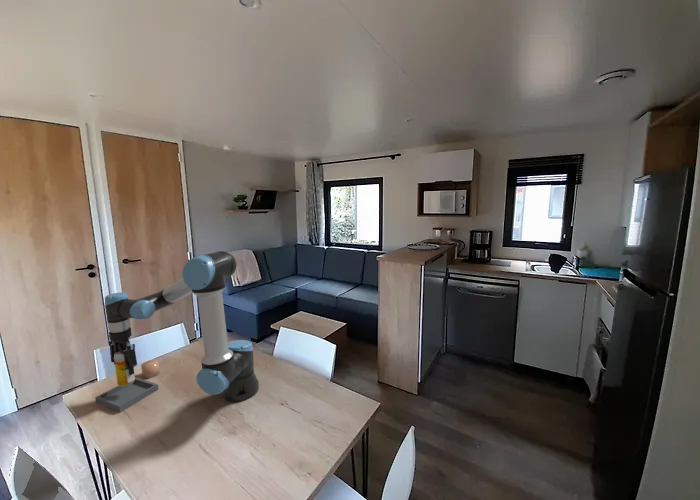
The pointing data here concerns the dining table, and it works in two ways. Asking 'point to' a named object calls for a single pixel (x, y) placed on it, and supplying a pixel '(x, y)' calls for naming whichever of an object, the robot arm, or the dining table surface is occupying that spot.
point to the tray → (126, 395)
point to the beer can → (121, 369)
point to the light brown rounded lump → (150, 369)
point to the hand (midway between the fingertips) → (126, 379)
